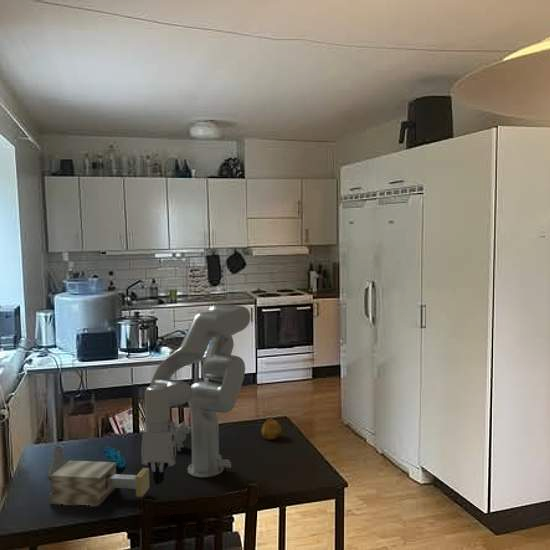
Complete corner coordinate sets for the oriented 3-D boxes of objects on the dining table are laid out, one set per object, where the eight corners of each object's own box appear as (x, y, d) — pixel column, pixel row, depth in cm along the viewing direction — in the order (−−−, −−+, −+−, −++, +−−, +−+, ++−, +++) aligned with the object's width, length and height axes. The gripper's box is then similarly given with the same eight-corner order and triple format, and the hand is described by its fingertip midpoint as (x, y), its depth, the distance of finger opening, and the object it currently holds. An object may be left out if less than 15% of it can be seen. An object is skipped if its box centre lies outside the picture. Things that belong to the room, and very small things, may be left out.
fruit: (258, 428, 226) (261, 415, 221) (277, 428, 228) (280, 415, 223) (261, 444, 219) (264, 431, 215) (280, 444, 221) (284, 431, 217)
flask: (56, 481, 182) (55, 452, 182) (43, 476, 186) (42, 448, 185) (74, 473, 188) (73, 445, 188) (61, 469, 192) (60, 442, 192)
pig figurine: (189, 451, 207) (189, 424, 207) (158, 450, 209) (157, 423, 208) (193, 446, 212) (193, 420, 212) (162, 445, 214) (162, 419, 213)
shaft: (149, 487, 173) (148, 468, 173) (142, 496, 167) (141, 476, 166) (89, 484, 175) (88, 465, 175) (80, 493, 169) (79, 474, 169)
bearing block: (117, 486, 178) (117, 461, 178) (99, 506, 164) (98, 479, 164) (72, 483, 180) (71, 459, 180) (49, 503, 166) (48, 477, 166)
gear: (122, 468, 188) (102, 448, 189) (110, 481, 188) (90, 460, 188) (130, 460, 199) (112, 441, 200) (119, 472, 199) (100, 452, 199)
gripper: (184, 422, 171) (185, 478, 172) (139, 420, 172) (140, 476, 174) (177, 430, 163) (178, 489, 164) (130, 428, 165) (131, 487, 166)
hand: (159, 482), depth 169 cm, fingers closed
